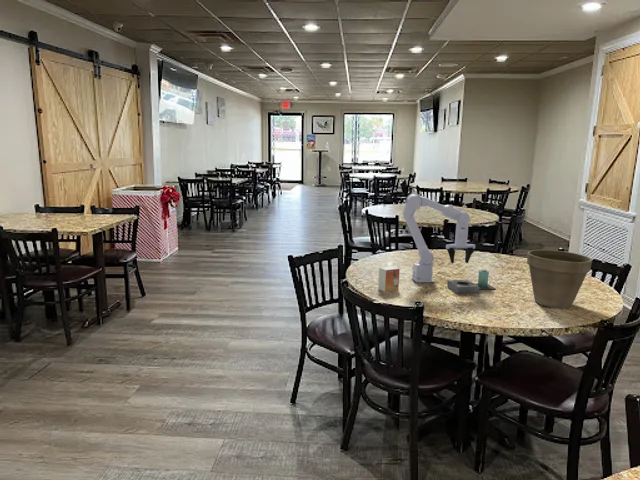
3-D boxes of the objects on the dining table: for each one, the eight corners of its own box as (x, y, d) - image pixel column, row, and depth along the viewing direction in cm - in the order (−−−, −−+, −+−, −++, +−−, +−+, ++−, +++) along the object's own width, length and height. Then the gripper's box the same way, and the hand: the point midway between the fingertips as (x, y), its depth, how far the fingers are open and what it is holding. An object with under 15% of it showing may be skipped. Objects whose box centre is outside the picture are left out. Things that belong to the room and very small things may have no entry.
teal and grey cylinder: (480, 287, 229) (481, 271, 228) (476, 284, 234) (477, 269, 232) (489, 287, 230) (490, 271, 228) (485, 284, 234) (486, 269, 233)
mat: (477, 290, 227) (478, 289, 227) (469, 284, 236) (469, 283, 236) (495, 289, 228) (495, 288, 228) (486, 284, 237) (486, 283, 237)
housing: (457, 294, 220) (458, 287, 219) (447, 286, 231) (447, 279, 231) (478, 293, 221) (479, 286, 221) (466, 286, 233) (467, 279, 232)
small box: (384, 292, 221) (385, 270, 219) (377, 289, 226) (378, 267, 224) (398, 290, 224) (400, 268, 222) (391, 287, 229) (392, 265, 227)
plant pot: (576, 297, 219) (582, 251, 215) (593, 315, 195) (601, 263, 191) (518, 292, 224) (523, 247, 220) (528, 309, 201) (533, 259, 196)
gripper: (450, 237, 231) (448, 264, 234) (479, 237, 233) (476, 264, 236) (444, 234, 238) (443, 261, 240) (472, 234, 240) (470, 261, 243)
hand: (459, 262), depth 239 cm, fingers open, 7 cm apart
